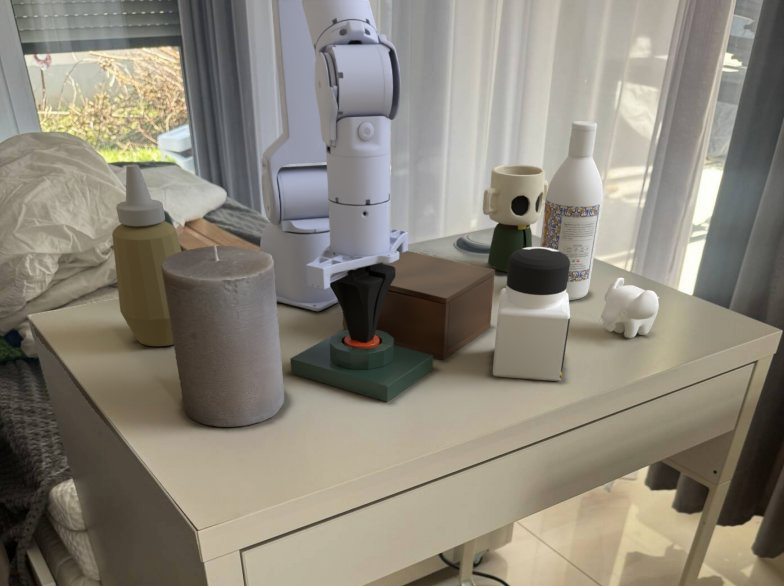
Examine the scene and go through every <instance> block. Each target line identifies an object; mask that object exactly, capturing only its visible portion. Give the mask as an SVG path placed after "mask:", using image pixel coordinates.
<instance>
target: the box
mask: <svg viewBox="0 0 784 586" xmlns="http://www.w3.org/2000/svg"><path fill="white" fill-rule="evenodd" d="M494 287H495V275H493V276H492V277H490V278H488V279H487V280H485V281H483V282H482V283H480V284H478V285H477V286H475V287H473V288H472V289H470V290H468V291H467V292H465V293H463V294H462V295H460V296H458V297H457V298H455V299H453V300H452V301H450V302H448V303H447V304H444V303H440V302H436V301H432V300H428V299H424V298H420V297H415V296H411V295H407V294H403V293H399V292H395V291H390V290H388V291H387V293H386V296H385V298H384V301H383V304H382V307H381V311H380V315H379V319H378V323H377V327H376V330H379V331H383V332H386V333H388V334H389V335H390V336H392V337H393V338H394V345H395V346H399V347H403V348H407V349H411V350H415V351H418V352H422V353H426V354H430V355H433V359H437V360H441V361H445V360H446V359H448V358H449V357H450V356H452V355H453V354H454V353H456V352H458V351H459V350H460V349H462V348H464V347H465V346H466V345H467V344H469V343H471V342H472V341H473V340H475V339H476V338H478V337H479V336H480V335H482V334H483V333H485V332H486V331H488V330H489V329H491V324H492V323H491V322H492V312H493V311H492V310H493V299H494V289H495V288H494ZM344 330H348V328H347V324H346V321H345V318H344V315H343V314H342V331H344Z"/></svg>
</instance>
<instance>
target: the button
mask: <svg viewBox="0 0 784 586" xmlns="http://www.w3.org/2000/svg"><path fill="white" fill-rule="evenodd" d="M344 344H345V346H348V347H352V348H361V349H367V348H372V347H376V346H378V345H379V337H378V336H376V335H374V339H373V340H371V341H369V342H368V343H363V342H359V341H355V340H352V339H351V338H350V335H348V336H346V337H345V339H344Z"/></svg>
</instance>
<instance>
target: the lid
mask: <svg viewBox="0 0 784 586" xmlns="http://www.w3.org/2000/svg"><path fill="white" fill-rule="evenodd" d="M383 264H385V265H390V266H393V267H395V269H396V275H395V278H394V280H393V281H392V283H391V285H390V287H389V289H388V290H390V291H395V292H399V293H403V294H407V295H411V296H415V297H420V298H424V299H428V300H432V301H436V302H440V303H444V304H447V303H448V302H450V301H452V300H453V299H455V298H457V297H458V296H460V295H462V294H463V293H465V292H467V291H468V290H470V289H472V288H473V287H475V286H477V285H478V284H480V283H482V282H483V281H485V280H487V279H488V278H490V277H492V276H493V275H494V276H495V274H496V269H495V268H494V269H493V268H488V267H484V266H479V265H475V264H470V263H466V262H460V261H457V260H451V259H446V258H443V257H437V256H433V255H427V254H424V253H418V252H413V251H409V250H408V251H406V252H404V253H399V259H398V260H397V261H395V262H393V263H383Z"/></svg>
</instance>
